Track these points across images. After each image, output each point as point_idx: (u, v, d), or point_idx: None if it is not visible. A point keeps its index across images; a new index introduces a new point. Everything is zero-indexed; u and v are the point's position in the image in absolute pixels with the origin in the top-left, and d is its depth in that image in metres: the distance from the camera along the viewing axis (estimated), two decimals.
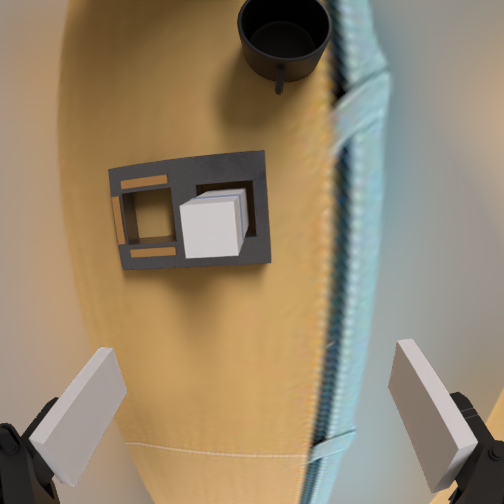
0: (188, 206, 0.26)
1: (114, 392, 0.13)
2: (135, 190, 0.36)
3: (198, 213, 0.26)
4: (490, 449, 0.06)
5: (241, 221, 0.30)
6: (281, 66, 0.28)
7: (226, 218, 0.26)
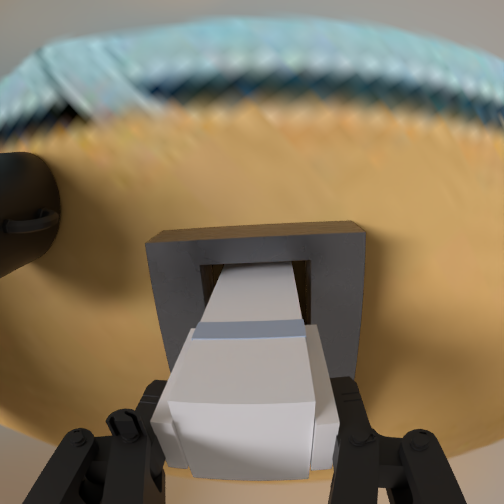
0: (192, 467, 0.10)
1: None
2: None
3: (205, 458, 0.10)
4: (350, 435, 0.08)
5: (253, 331, 0.13)
6: (0, 228, 0.15)
7: (213, 418, 0.09)
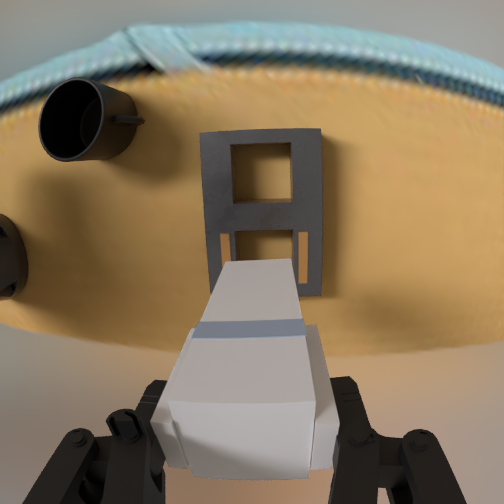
0: (192, 467, 0.10)
1: None
2: None
3: (205, 457, 0.10)
4: (350, 435, 0.08)
5: (253, 331, 0.13)
6: (112, 118, 0.29)
7: (213, 417, 0.09)
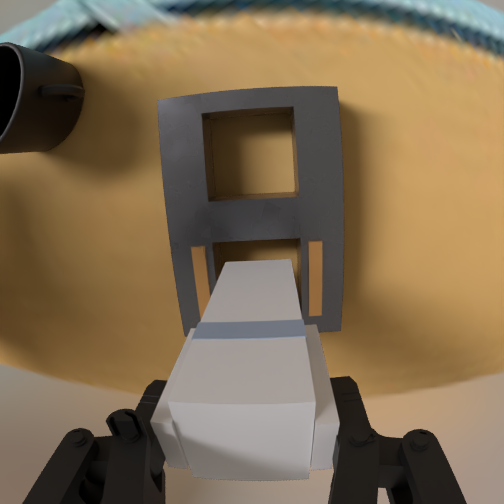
0: (192, 468, 0.10)
1: None
2: None
3: (205, 458, 0.10)
4: (350, 435, 0.08)
5: (253, 332, 0.13)
6: (36, 89, 0.17)
7: (213, 418, 0.09)
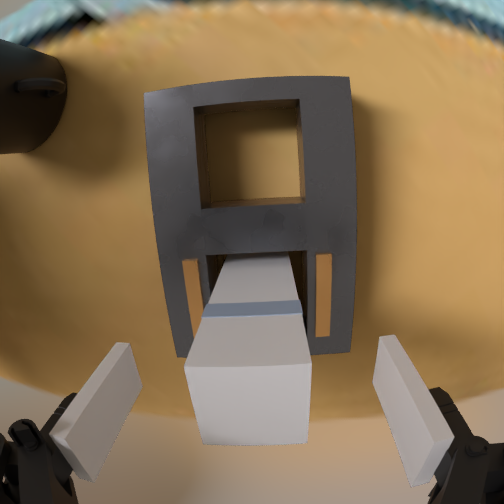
0: (202, 433, 0.12)
1: (130, 387, 0.13)
2: None
3: (214, 422, 0.11)
4: (467, 445, 0.06)
5: (256, 310, 0.15)
6: (12, 84, 0.14)
7: (223, 381, 0.11)
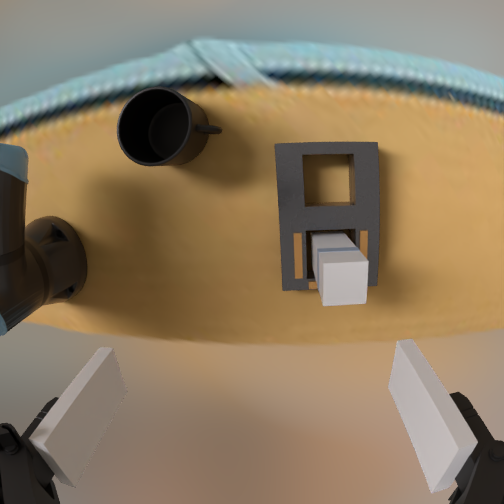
0: (324, 299, 0.31)
1: (114, 392, 0.13)
2: (305, 264, 0.41)
3: (330, 291, 0.31)
4: (490, 449, 0.06)
5: (340, 249, 0.34)
6: (195, 127, 0.34)
7: (337, 269, 0.30)
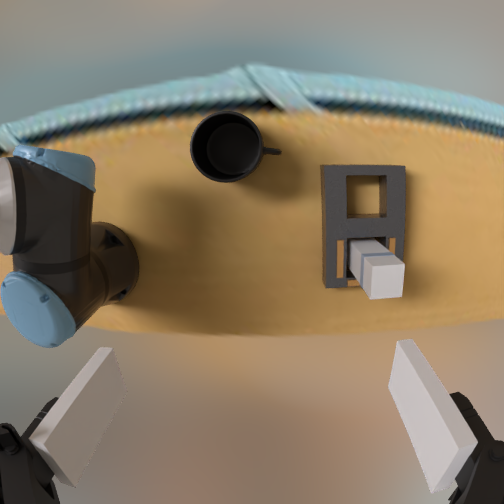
0: (371, 294, 0.38)
1: (114, 392, 0.13)
2: (345, 266, 0.48)
3: (376, 288, 0.38)
4: (490, 449, 0.06)
5: (380, 254, 0.41)
6: (262, 149, 0.41)
7: (382, 270, 0.37)
